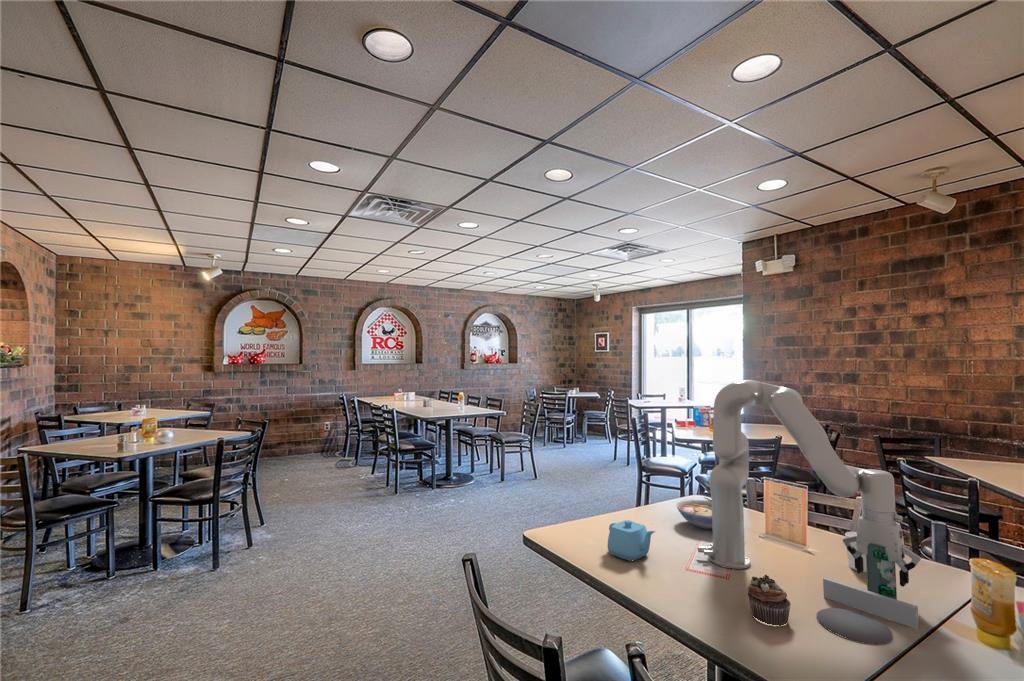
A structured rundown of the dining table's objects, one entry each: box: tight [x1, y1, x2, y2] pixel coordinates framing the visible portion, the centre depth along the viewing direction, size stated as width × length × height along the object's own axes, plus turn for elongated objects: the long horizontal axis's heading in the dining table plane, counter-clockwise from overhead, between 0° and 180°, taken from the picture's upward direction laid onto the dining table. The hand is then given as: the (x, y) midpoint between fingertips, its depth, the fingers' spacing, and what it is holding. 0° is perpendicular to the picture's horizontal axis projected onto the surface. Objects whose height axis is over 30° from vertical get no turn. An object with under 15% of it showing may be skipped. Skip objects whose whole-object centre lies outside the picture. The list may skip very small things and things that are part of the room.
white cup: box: [844, 531, 867, 573], centre depth 148 cm, size 8×8×10 cm
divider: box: [822, 577, 920, 630], centre depth 122 cm, size 2×20×5 cm, turn 37°
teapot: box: [607, 519, 656, 562], centre depth 158 cm, size 12×18×12 cm
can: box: [866, 543, 898, 600], centre depth 129 cm, size 6×6×15 cm
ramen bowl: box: [675, 497, 712, 530], centre depth 187 cm, size 25×23×8 cm
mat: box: [816, 607, 893, 645], centre depth 115 cm, size 15×15×1 cm
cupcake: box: [747, 574, 792, 626], centre depth 119 cm, size 10×10×10 cm
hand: (881, 578), depth 129 cm, fingers open, 9 cm apart
